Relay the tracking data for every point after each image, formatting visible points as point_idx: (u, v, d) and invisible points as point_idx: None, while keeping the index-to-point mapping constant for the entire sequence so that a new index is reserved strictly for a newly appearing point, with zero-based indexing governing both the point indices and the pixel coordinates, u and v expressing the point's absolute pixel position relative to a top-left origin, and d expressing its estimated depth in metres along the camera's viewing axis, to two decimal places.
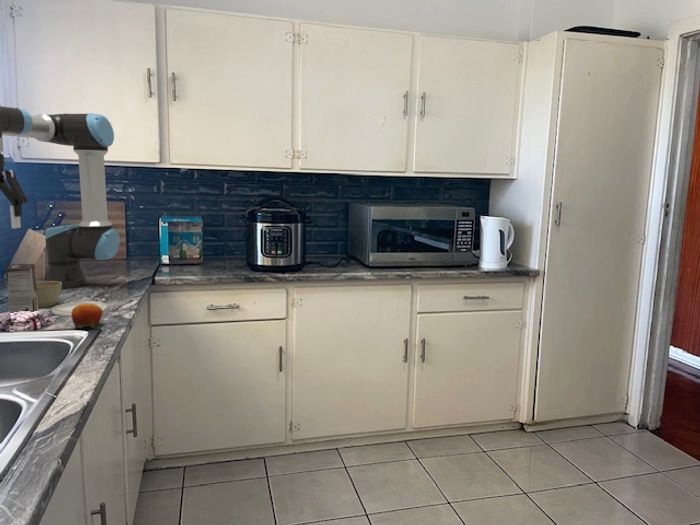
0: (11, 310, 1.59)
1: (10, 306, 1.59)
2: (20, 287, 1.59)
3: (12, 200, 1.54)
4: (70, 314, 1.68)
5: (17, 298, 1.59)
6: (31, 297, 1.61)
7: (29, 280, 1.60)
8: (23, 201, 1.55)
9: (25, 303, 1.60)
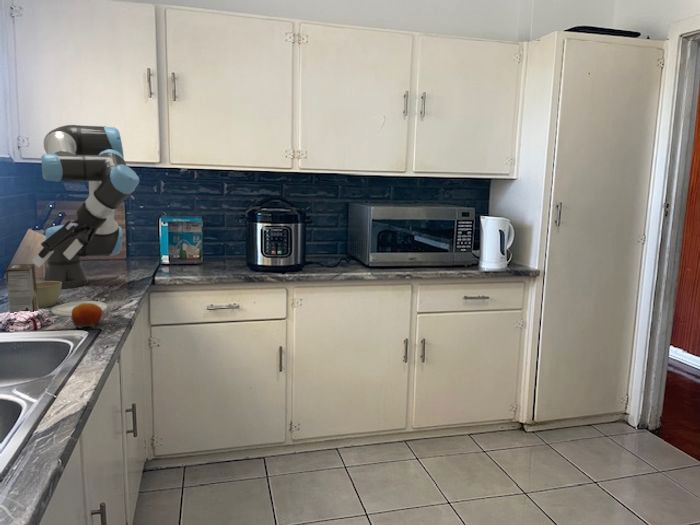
0: (11, 310, 1.59)
1: (10, 306, 1.59)
2: (20, 287, 1.59)
3: (86, 241, 1.66)
4: (70, 314, 1.68)
5: (17, 298, 1.59)
6: (31, 297, 1.61)
7: (29, 280, 1.60)
8: None
9: (25, 303, 1.60)
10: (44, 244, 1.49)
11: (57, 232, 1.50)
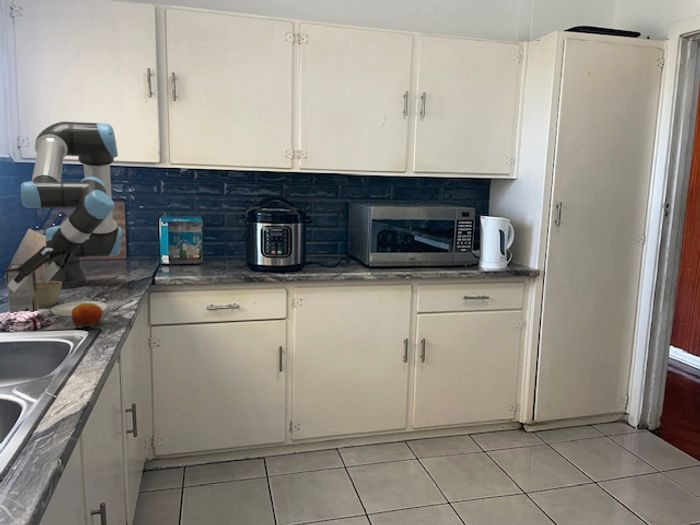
0: (11, 310, 1.59)
1: (10, 306, 1.59)
2: (20, 287, 1.59)
3: (62, 264, 1.67)
4: (70, 314, 1.68)
5: (17, 298, 1.59)
6: (31, 297, 1.61)
7: (29, 280, 1.60)
8: None
9: (25, 303, 1.60)
10: (19, 270, 1.50)
11: (32, 257, 1.51)
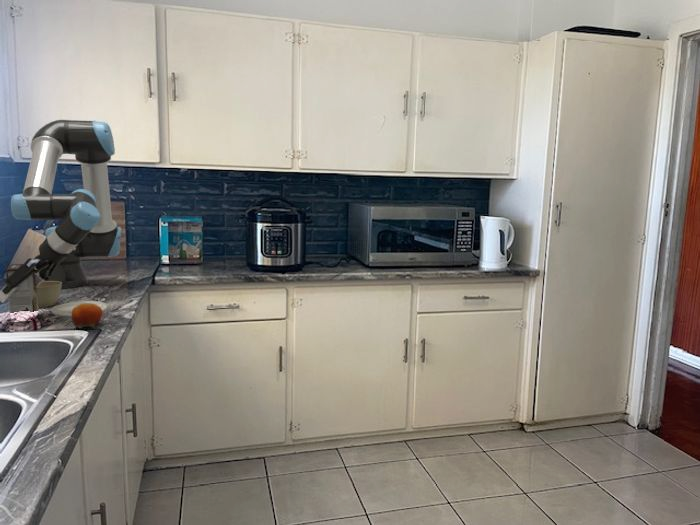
0: (11, 310, 1.59)
1: (10, 306, 1.59)
2: (20, 287, 1.59)
3: (46, 276, 1.68)
4: (70, 314, 1.68)
5: (17, 298, 1.59)
6: (31, 297, 1.61)
7: (29, 280, 1.60)
8: None
9: (25, 303, 1.60)
10: (7, 281, 1.54)
11: (19, 269, 1.54)
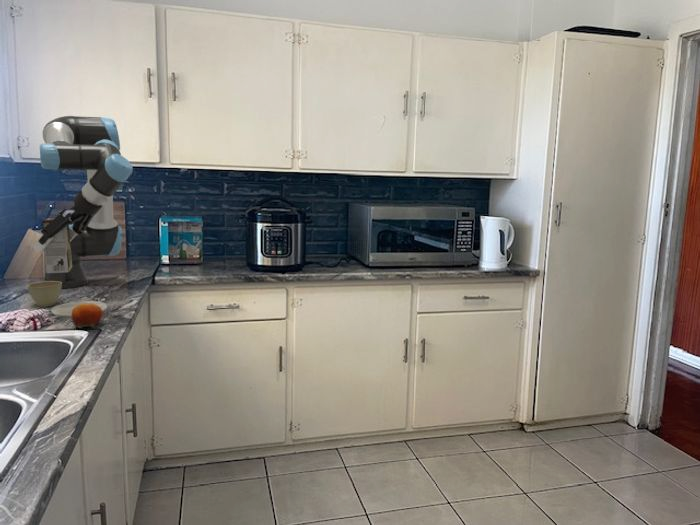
0: (47, 260, 1.64)
1: (46, 257, 1.64)
2: (56, 238, 1.64)
3: (80, 230, 1.73)
4: (70, 314, 1.68)
5: (52, 249, 1.64)
6: (66, 248, 1.65)
7: (64, 231, 1.64)
8: None
9: (60, 254, 1.65)
10: (44, 231, 1.58)
11: (55, 219, 1.59)
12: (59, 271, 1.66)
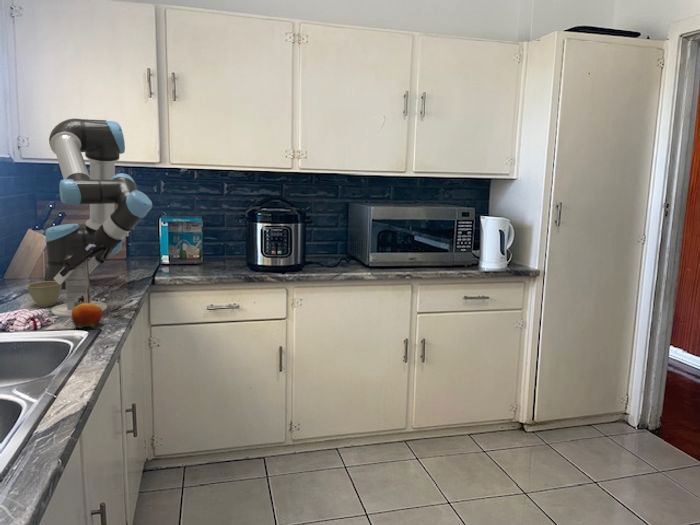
0: (68, 298, 1.69)
1: (67, 294, 1.69)
2: (77, 276, 1.69)
3: (102, 259, 1.79)
4: (70, 314, 1.68)
5: (73, 286, 1.69)
6: (86, 286, 1.71)
7: (85, 269, 1.70)
8: None
9: (81, 291, 1.70)
10: (65, 264, 1.63)
11: (77, 253, 1.64)
12: None
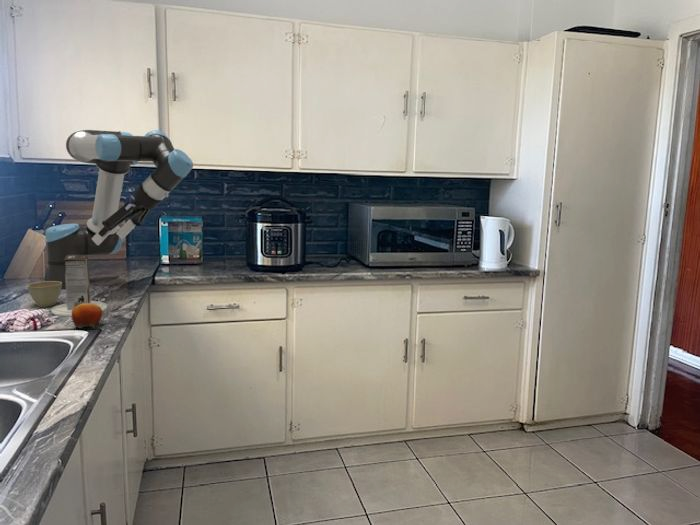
0: (68, 298, 1.69)
1: (67, 294, 1.69)
2: (77, 276, 1.69)
3: (138, 222, 1.75)
4: (70, 314, 1.68)
5: (73, 286, 1.69)
6: (86, 286, 1.71)
7: (85, 269, 1.70)
8: None
9: (81, 291, 1.70)
10: (105, 223, 1.58)
11: (117, 212, 1.59)
12: None
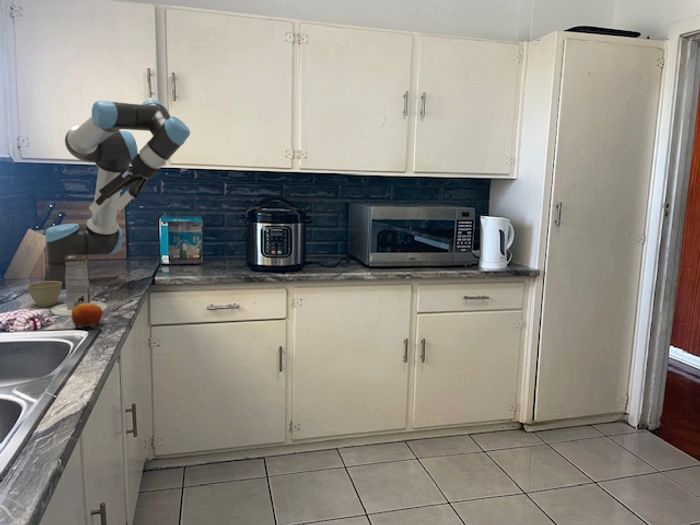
0: (68, 298, 1.69)
1: (67, 294, 1.69)
2: (77, 276, 1.69)
3: (136, 193, 1.74)
4: (70, 314, 1.68)
5: (73, 286, 1.69)
6: (86, 286, 1.71)
7: (85, 269, 1.70)
8: None
9: (81, 291, 1.70)
10: (102, 191, 1.57)
11: (114, 180, 1.58)
12: None
